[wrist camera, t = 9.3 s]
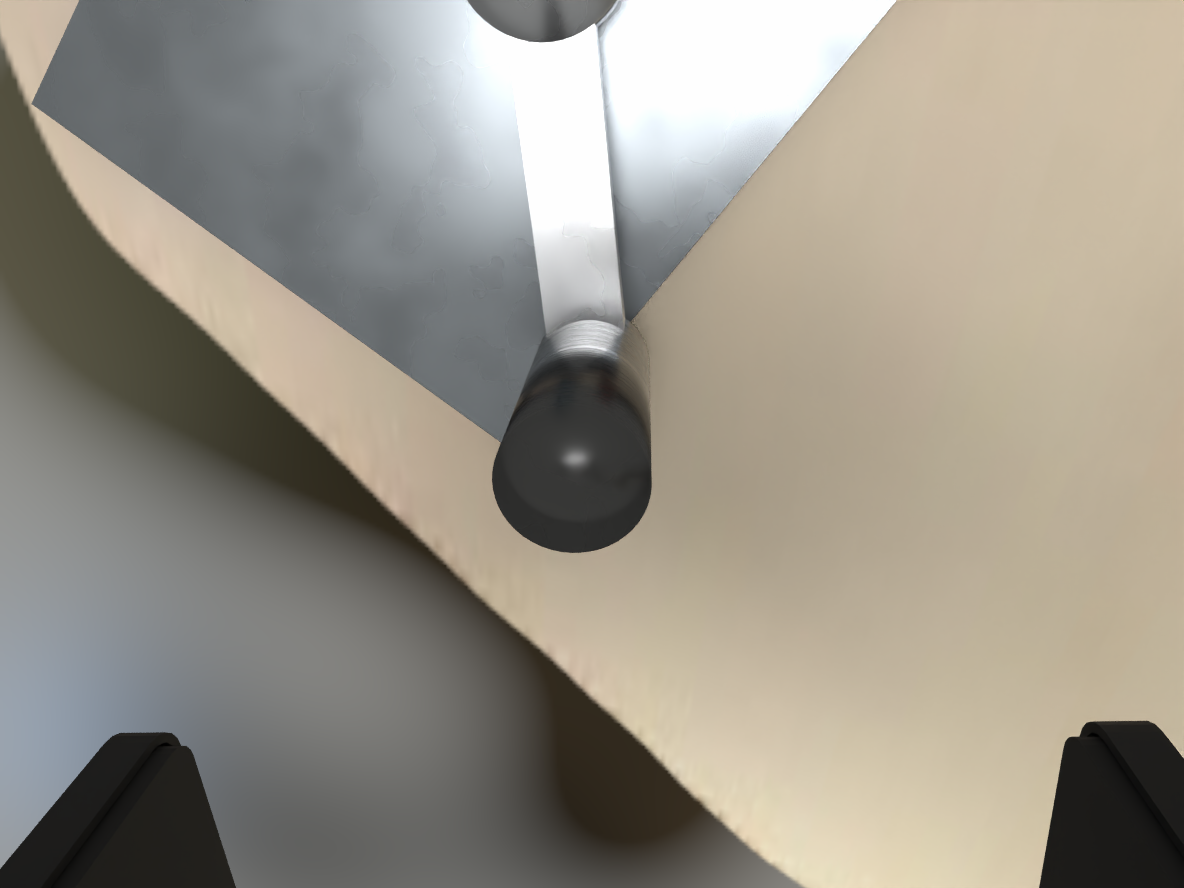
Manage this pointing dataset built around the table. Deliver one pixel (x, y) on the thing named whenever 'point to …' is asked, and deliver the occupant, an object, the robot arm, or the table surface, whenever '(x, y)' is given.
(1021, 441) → the table surface
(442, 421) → the table surface
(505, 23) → the lever
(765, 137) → the base
